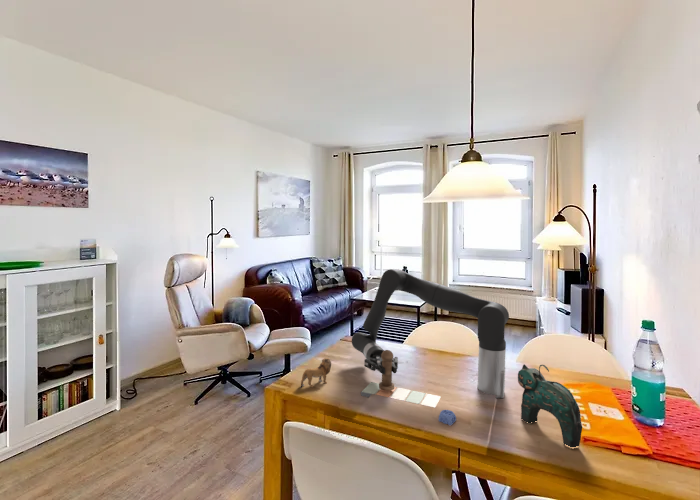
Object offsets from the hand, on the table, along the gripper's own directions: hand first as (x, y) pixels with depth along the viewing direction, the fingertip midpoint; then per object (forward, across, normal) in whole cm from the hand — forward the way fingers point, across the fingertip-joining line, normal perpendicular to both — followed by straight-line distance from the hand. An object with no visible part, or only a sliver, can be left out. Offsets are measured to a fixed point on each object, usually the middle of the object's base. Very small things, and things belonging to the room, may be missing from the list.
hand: (389, 371), depth 131 cm
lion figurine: (-18, -24, +10) cm, 31 cm away
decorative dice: (+21, +11, +10) cm, 26 cm away
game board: (+1, +4, +10) cm, 11 cm away
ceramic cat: (+31, +39, +10) cm, 51 cm away
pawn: (-3, 0, +7) cm, 8 cm away
